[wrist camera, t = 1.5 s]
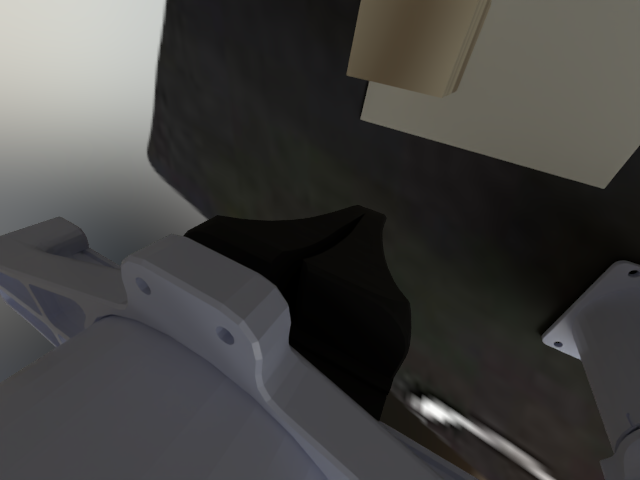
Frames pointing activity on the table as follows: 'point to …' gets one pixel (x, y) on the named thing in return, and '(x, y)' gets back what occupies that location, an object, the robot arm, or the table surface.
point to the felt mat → (537, 90)
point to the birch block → (416, 43)
